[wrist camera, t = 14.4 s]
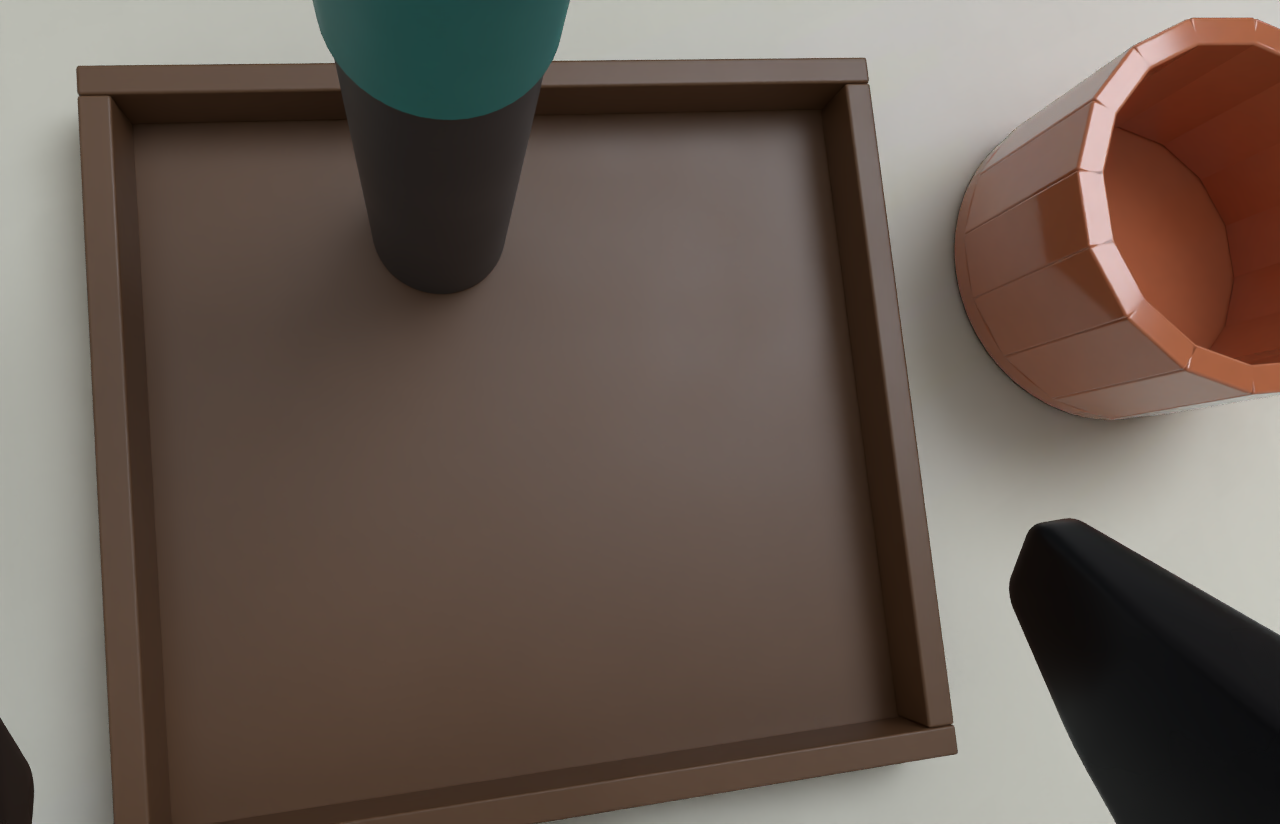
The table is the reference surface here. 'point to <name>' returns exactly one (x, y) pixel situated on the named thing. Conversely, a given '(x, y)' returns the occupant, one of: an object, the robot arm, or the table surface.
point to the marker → (440, 123)
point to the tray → (502, 456)
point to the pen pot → (1137, 231)
